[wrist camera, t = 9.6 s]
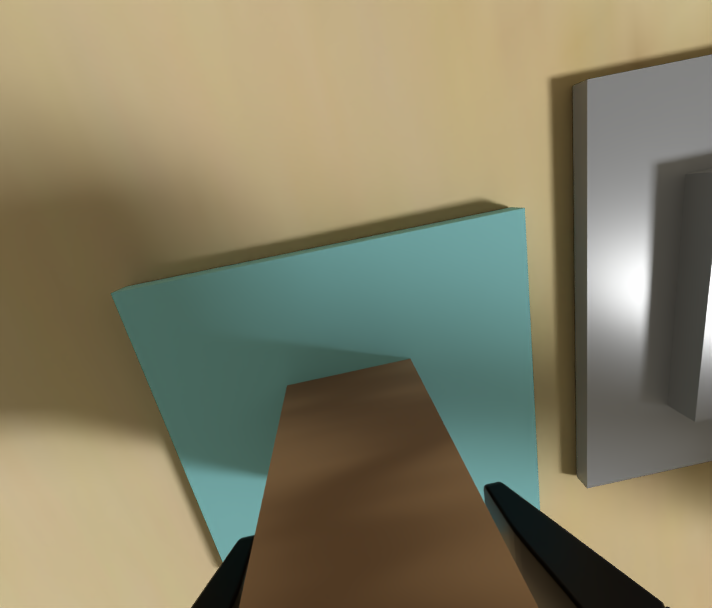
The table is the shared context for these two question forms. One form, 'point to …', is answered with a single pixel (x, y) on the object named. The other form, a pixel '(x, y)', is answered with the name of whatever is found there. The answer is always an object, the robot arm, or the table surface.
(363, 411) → the walnut block
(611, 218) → the holder
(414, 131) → the table surface
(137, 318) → the mat
